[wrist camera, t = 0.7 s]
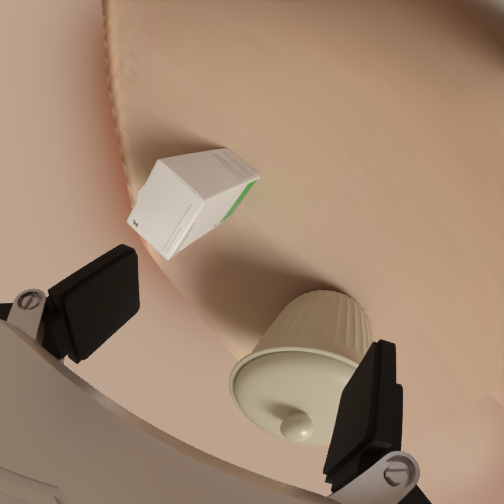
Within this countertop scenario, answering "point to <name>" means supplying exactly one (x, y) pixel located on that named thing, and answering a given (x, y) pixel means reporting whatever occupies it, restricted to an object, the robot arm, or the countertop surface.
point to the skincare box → (189, 197)
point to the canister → (303, 367)
